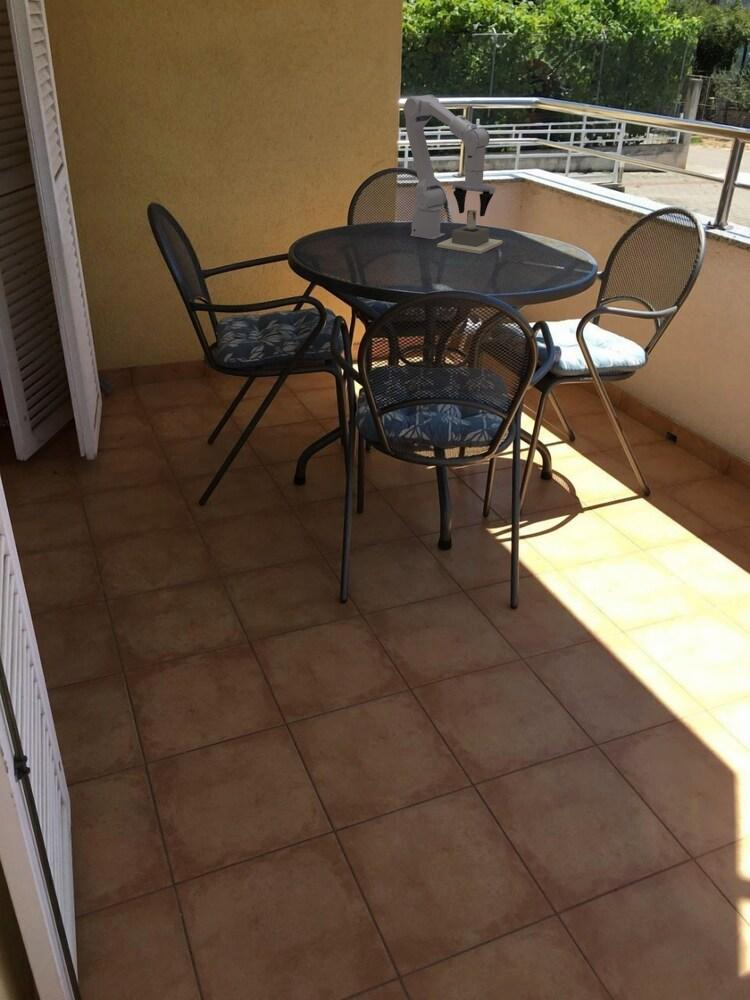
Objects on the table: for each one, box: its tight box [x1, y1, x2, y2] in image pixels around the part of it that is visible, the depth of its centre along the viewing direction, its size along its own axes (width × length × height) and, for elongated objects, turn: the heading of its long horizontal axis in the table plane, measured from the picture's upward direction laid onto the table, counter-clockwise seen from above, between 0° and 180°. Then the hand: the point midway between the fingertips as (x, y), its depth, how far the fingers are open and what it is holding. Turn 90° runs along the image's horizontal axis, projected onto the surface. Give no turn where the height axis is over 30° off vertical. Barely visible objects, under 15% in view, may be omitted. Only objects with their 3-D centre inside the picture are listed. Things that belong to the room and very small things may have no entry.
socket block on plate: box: [436, 224, 504, 255], centre depth 274 cm, size 16×16×5 cm
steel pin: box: [466, 209, 478, 232], centre depth 272 cm, size 3×3×10 cm
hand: (471, 214), depth 270 cm, fingers open, 7 cm apart
